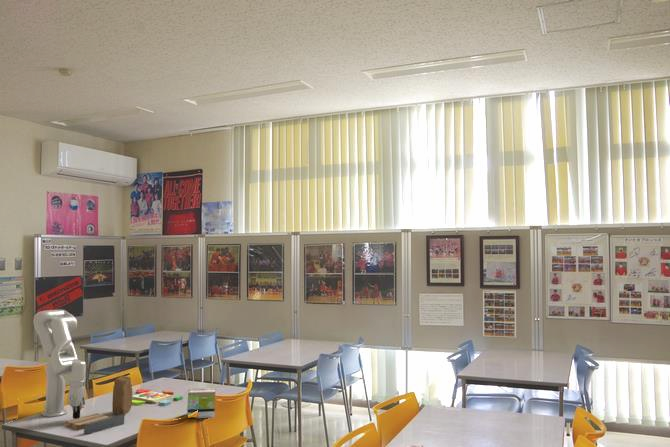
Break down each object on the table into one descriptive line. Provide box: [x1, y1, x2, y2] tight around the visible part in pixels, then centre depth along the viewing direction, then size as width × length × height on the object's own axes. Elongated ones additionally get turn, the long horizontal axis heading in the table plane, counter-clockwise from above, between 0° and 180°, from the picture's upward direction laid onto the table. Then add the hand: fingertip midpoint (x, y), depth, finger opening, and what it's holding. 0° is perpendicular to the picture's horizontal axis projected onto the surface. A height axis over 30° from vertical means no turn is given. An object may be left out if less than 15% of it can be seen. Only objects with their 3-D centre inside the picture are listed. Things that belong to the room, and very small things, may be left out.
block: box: [112, 376, 133, 415], centre depth 314 cm, size 11×8×20 cm
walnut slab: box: [65, 413, 109, 431], centre depth 291 cm, size 12×18×3 cm, turn 146°
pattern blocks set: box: [132, 388, 184, 407], centre depth 345 cm, size 38×34×3 cm
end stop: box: [83, 413, 126, 435], centre depth 284 cm, size 2×22×5 cm, turn 148°
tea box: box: [186, 387, 216, 419], centre depth 310 cm, size 15×10×15 cm
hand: (76, 418), depth 297 cm, fingers closed
